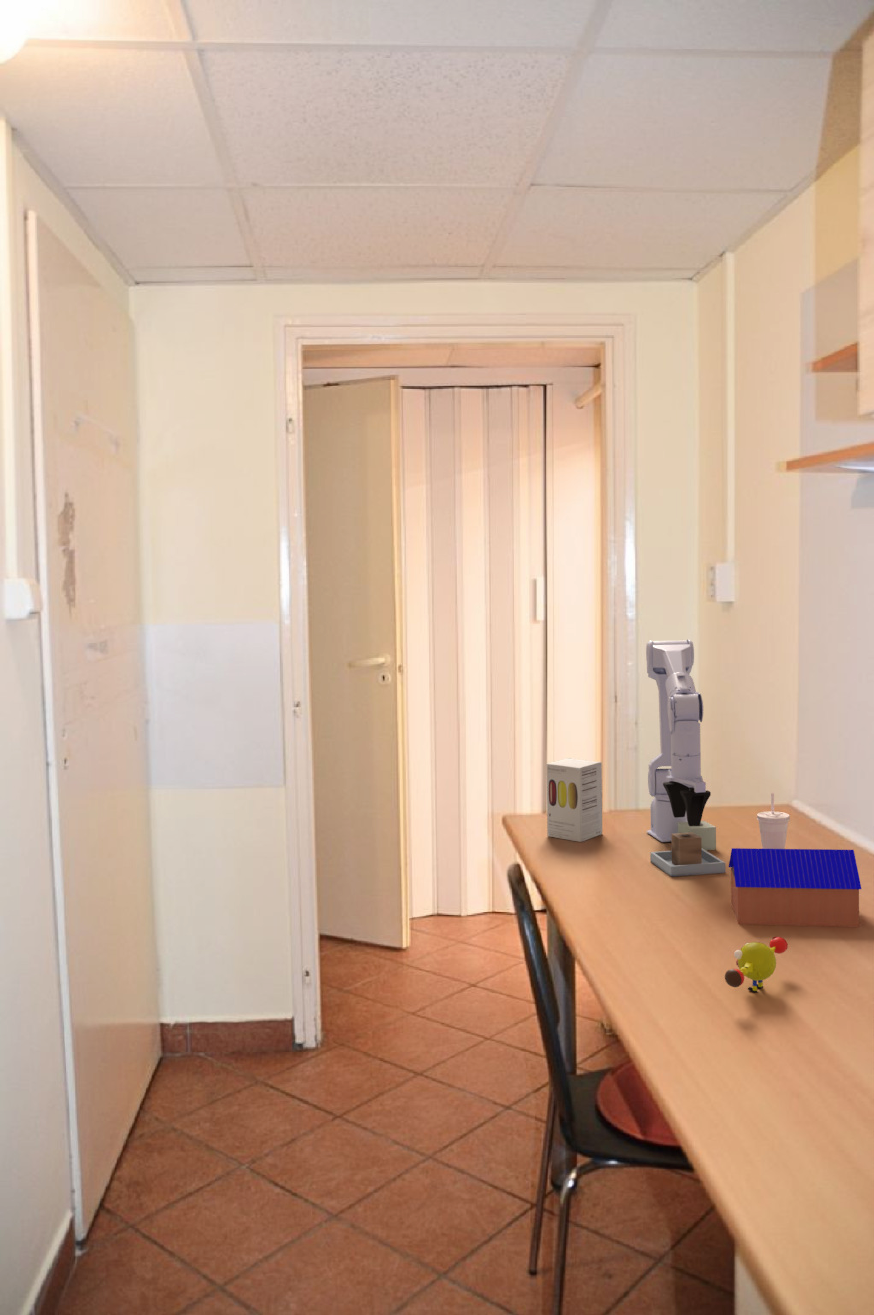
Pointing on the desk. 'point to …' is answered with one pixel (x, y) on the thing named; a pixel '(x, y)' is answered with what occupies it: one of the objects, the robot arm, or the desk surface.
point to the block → (686, 848)
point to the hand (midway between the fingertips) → (686, 821)
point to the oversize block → (701, 833)
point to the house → (795, 887)
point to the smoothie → (773, 827)
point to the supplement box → (574, 799)
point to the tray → (706, 867)
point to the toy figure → (755, 962)
